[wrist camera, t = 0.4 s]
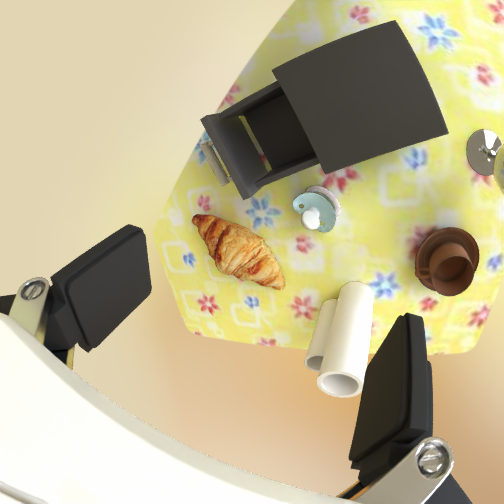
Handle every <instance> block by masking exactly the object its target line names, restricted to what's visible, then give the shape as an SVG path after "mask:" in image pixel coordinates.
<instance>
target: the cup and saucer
mask: <svg viewBox="0 0 504 504" xmlns="http://www.w3.org/2000/svg"><path fill="white" fill-rule="evenodd" d="M478 263H479V249H478V245H477V243H476V241H475V239H474V238H473V237H472V236H471V235H470V234H469V233H468V232H466V231H464V230H462V229H459V228H454V227H448V228H443V229H440V230H437V231H435V232H434V233H432V234H431V235H429V236H428V237H427V238H426V239H425V240H424V241H423V243H422V244H421V246H420V247H419V249H418V252H417V255H416V259H415V270H416V271H415V275H416V277H418V278H419V280H420V281H421V283H422V284H423V285H424V286H426V287H427V288H429V289H431V290H433V291H437V292H438V293H439V294H441V295H444V296H455V295H458V294H460V293H462V292H463V291H465V290H466V289H467V288H468V287H469V285H470V284H471V282H472V280H473V277H474V273H475V271H476V269H477V266H478Z"/></svg>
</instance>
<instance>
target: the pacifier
mask: <svg viewBox="0 0 504 504" xmlns="http://www.w3.org/2000/svg"><path fill="white" fill-rule="evenodd" d="M314 191H317V192H321V193H323V194H325V195H326V196H328V197H329V198H330V199H331V201H332V202H333V204H334V206H335V211H334V209H333V207H332V205H331V204H330V202H329V201H328V200H327V199H325V198H324V197H323V196H321V195H319V194H316V193H312V192H314ZM299 204H303V205H304V207H303V208H300V207H299ZM293 208H294V209H295V211H296V212H298V213H299V214H301V215H302V216H301V222H302V225H303V226H304V227H305V228H306V229H308V230H315V229H317V230H319V231H320V232H324V233H326V232H329V231H330V230H331V229H332V228H333V227H334V225H335V220H336V217H337V216H338V215H339V214H340V210H341V209H340V204H339V201H338V200H337V198H336V197H335V196H334V195H333V194H332V193H331V192H330V191H329V190H327V189H326V188H324V187H321V186H310V187H309V188H307V190H306V192H305V193H303V194H301V195H299V196H297V197H296V198H295V200H294V202H293ZM320 221H323V222H324V226H321V225H320Z"/></svg>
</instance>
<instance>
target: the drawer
mask: <svg viewBox="0 0 504 504" xmlns="http://www.w3.org/2000/svg"><path fill="white" fill-rule="evenodd" d="M243 115H244V116H245V118H246V120H247V122H248V124H249V125H250V127H251V129H252V131H253V133H254V135H255V137H256V139H257V140H258V142H259V144H260V146H261V148H262V150H263V152H264V154H265V156H266V158H267V160H268V162H269V164H270V166H271V168H272V170H271V171H270V172H267V170H266V168H265V166H264V164H263V162H262V160H261V158H260V156H259V154H258V152H257V150H256V148H255V146H254V144H253V143H252V141H251V139H250V137H249V135H248V133H247V131H246V129H245V127H244V126H243V124H242V122H241V120H240V118H239V116H243ZM201 122H202V124H203V126H204V127H205V129H206V131H207V133H208V135H209V137H210V139H211V140H212V141H210V142H206V143H204V144H202V145H201V146H200V147H201V149H202V151H203V153H204V155H205V157H206V158H207V160H208V162H209V164H210V166H211V168H212V170H213V171H214V173H215V175H216V177H217V179H218V181H219V183H220V184H221V186H224V185H226V184H228V183H229V182H230V181H231V180H233V181H234V183H235V185H236V187H237V189H238V191H239V193H240V195H241V197H242V198H243V200H245V199H248V198H250V197H251V196H253V195H254V194H255V193H256V192H257V191H258V190H259V189H261V188H262V187H263V186H264V185H267V184H269V183H271V182H274V181H276V180H279V179H281V178H284V177H286V176H289V175H291V174H294V173H296V172H299V171H301V170H304V169H306V168H309V167H311V166H314V165H316V164H319V163H320V162H319V160H318V158H317V156H316V154H315V152H314V149H313V147H312V145H311V143H310V141H309V139H308V137H307V135H306V133H305V131H304V129H303V127H302V125H301V123H300V121H299V119H298V117H297V115H296V113H295V111H294V110H293V108H292V106H291V104H290V102H289V100H288V98H287V97H286V95H285V93H284V91H283V89H282V88H281V86H280V84H279V82H278V81H276V82H275V83H273V84H271V85H269V86H267V87H265V88H263V89H261V90H259V91H258V92H256V93H254V94H252V95H250V96H248V97H247V98H245V99H243V100H241V101H240V102H238V103H236V104H235V105H233V106H231V107H230V108H228V109H226V110H225V111H223V112H221V113H218V114H212V115H206V116H205V117H204V118H202V119H201ZM213 144H214V146H215V148H216V150H217V152H218V153H219V155H220V157H221V159H222V161H223V163H224V165H225V166H226V168H227V170H228V172H229V174H230V176H229V177H228V176H227V174H226V172H225V171H224V169H223V167H222V165H221V163H220V161H219V159H218V157H217V156H216V154H215V152H214V150H213V148H212V145H213Z"/></svg>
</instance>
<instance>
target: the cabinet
mask: <svg viewBox="0 0 504 504" xmlns="http://www.w3.org/2000/svg"><path fill="white" fill-rule="evenodd" d="M272 72H273V74H274V75H275V77H276V79H277V80H278V82H279V84H280V86H281V88H282V89H283V91H284V93H285V95H286V97H287V98H288V100H289V102H290V104H291V106H292V108H293V110H294V111H295V113H296V115H297V117H298V119H299V121H300V123H301V125H302V127H303V129H304V131H305V133H306V135H307V137H308V139H309V141H310V143H311V145H312V147H313V149H314V152H315V154H316V156H317V158H318V160H319V162H320V164H321V167H322V169H323V171H324V173H325V174H328V173H331V172H334V171H336V170H339V169H342V168H345V167H348V166H351V165H353V164H356V163H359V162H362V161H365V160H368V159H371V158H374V157H377V156H380V155H383V154H386V153H389V152H392V151H395V150H398V149H401V148H404V147H407V146H410V145H413V144H416V143H420V142H423V141H426V140H429V139H433V138H436V137H439V136H443V135H446V134H449V132H448V129H447V127H446V124H445V121H444V118H443V115H442V113H441V110H440V107H439V105H438V102H437V100H436V98H435V95H434V93H433V90H432V88H431V86H430V84H429V81H428V79H427V77H426V75H425V73H424V71H423V69H422V67H421V65H420V63H419V61H418V59H417V57H416V55H415V53H414V51H413V49H412V47H411V46H410V44H409V42H408V40H407V38H406V37H405V35H404V33H403V32H402V30H401V28H400V27H399V25H398V23H397V22H396V20H394V21H390V22H387V23H383V24H380V25H377V26H374V27H371V28H368V29H365V30H362V31H359V32H356V33H354V34H351V35H348V36H346V37H343V38H340V39H338V40H335V41H333V42H330V43H328V44H326V45H323V46H321V47H319V48H316V49H314V50H312V51H310V52H307V53H305V54H303V55H301V56H299V57H297V58H294V59H292V60H290V61H288V62H286V63H284V64H282V65H280V66H278V67H276V68H274V69H273V70H272Z"/></svg>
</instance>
